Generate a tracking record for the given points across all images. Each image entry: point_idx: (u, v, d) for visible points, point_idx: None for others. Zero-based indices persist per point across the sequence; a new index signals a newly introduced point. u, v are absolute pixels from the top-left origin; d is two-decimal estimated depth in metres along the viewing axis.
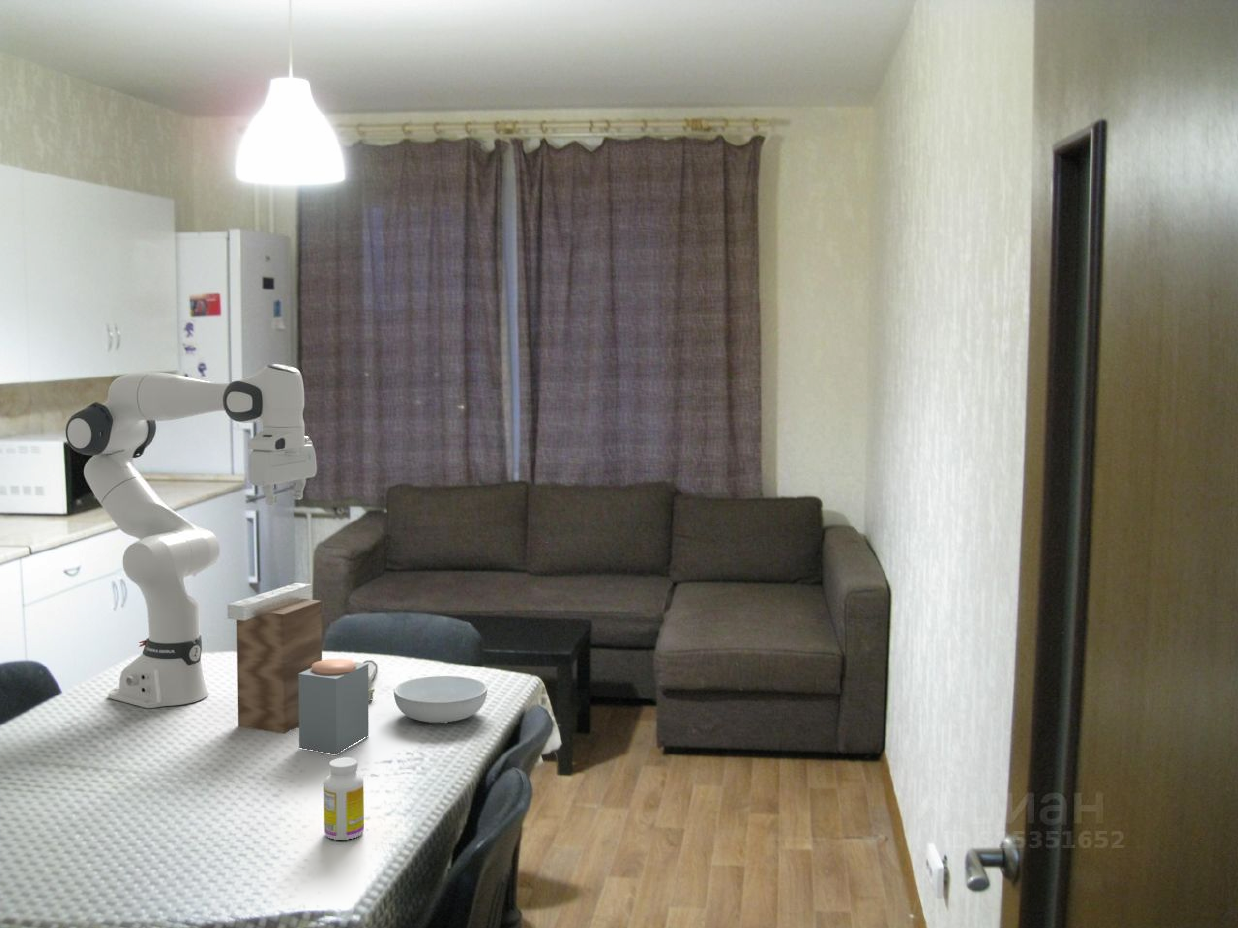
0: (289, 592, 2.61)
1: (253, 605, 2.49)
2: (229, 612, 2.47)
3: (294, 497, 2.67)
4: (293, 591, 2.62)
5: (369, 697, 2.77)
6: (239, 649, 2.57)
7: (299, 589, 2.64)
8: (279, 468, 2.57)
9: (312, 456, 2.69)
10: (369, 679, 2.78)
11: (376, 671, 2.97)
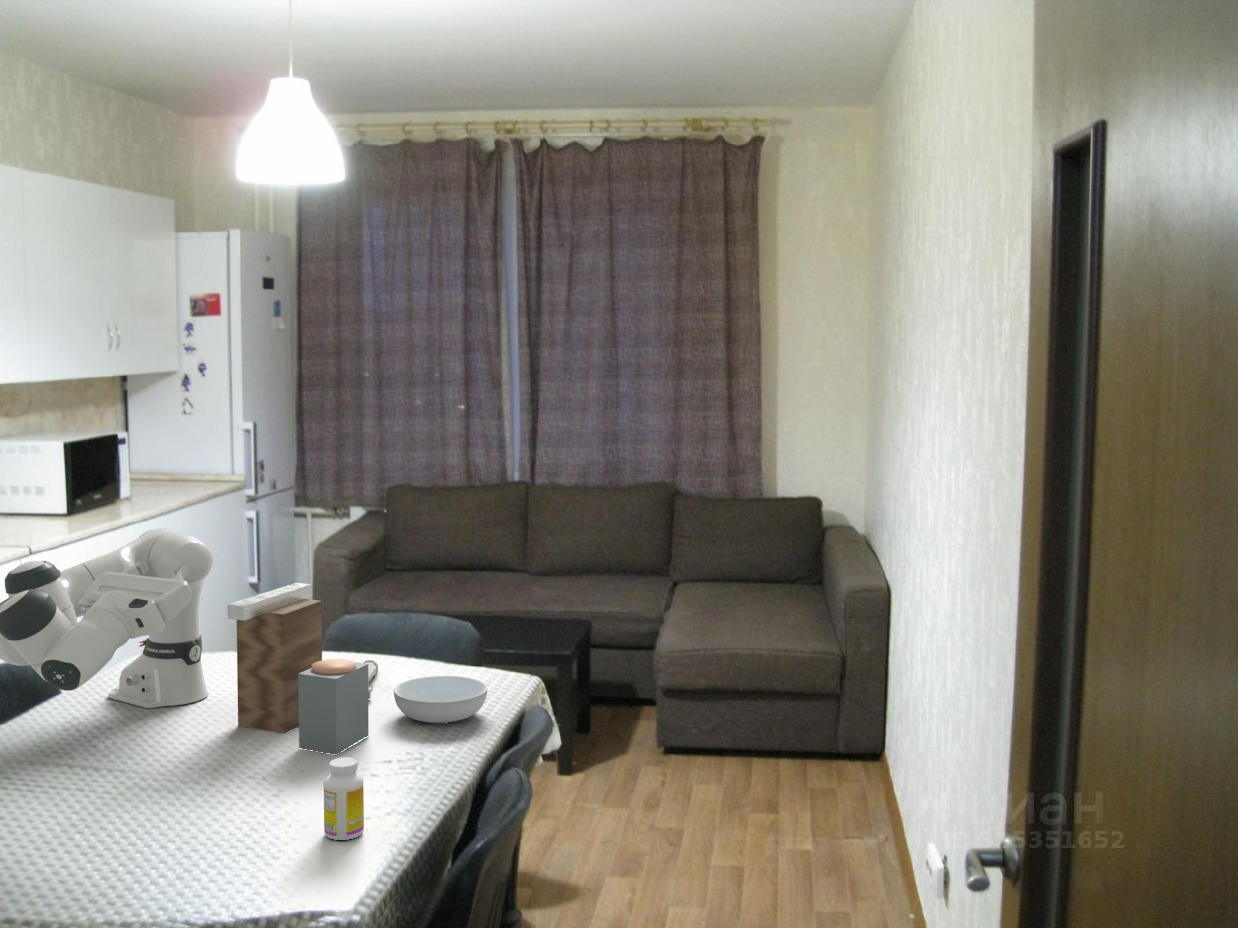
0: (289, 592, 2.61)
1: (253, 605, 2.49)
2: (229, 612, 2.47)
3: (146, 567, 2.28)
4: (293, 591, 2.62)
5: None
6: (239, 649, 2.57)
7: (299, 589, 2.64)
8: (152, 589, 2.18)
9: (95, 587, 2.21)
10: None
11: (376, 671, 2.97)
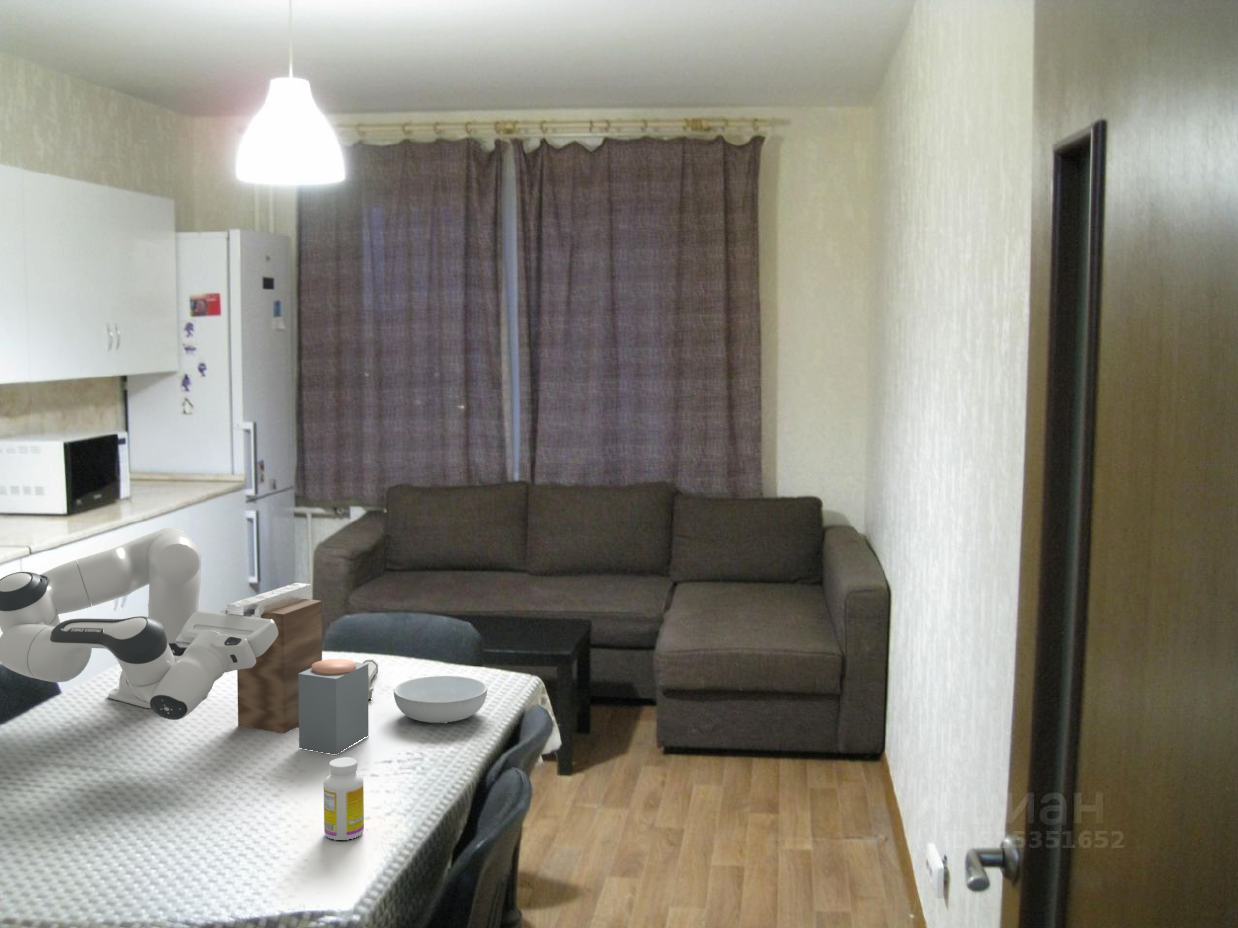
0: (289, 592, 2.61)
1: (253, 605, 2.49)
2: (229, 612, 2.47)
3: None
4: (293, 591, 2.62)
5: (368, 696, 2.78)
6: None
7: (299, 589, 2.64)
8: (243, 627, 2.43)
9: (189, 625, 2.46)
10: (368, 678, 2.79)
11: (376, 670, 2.98)
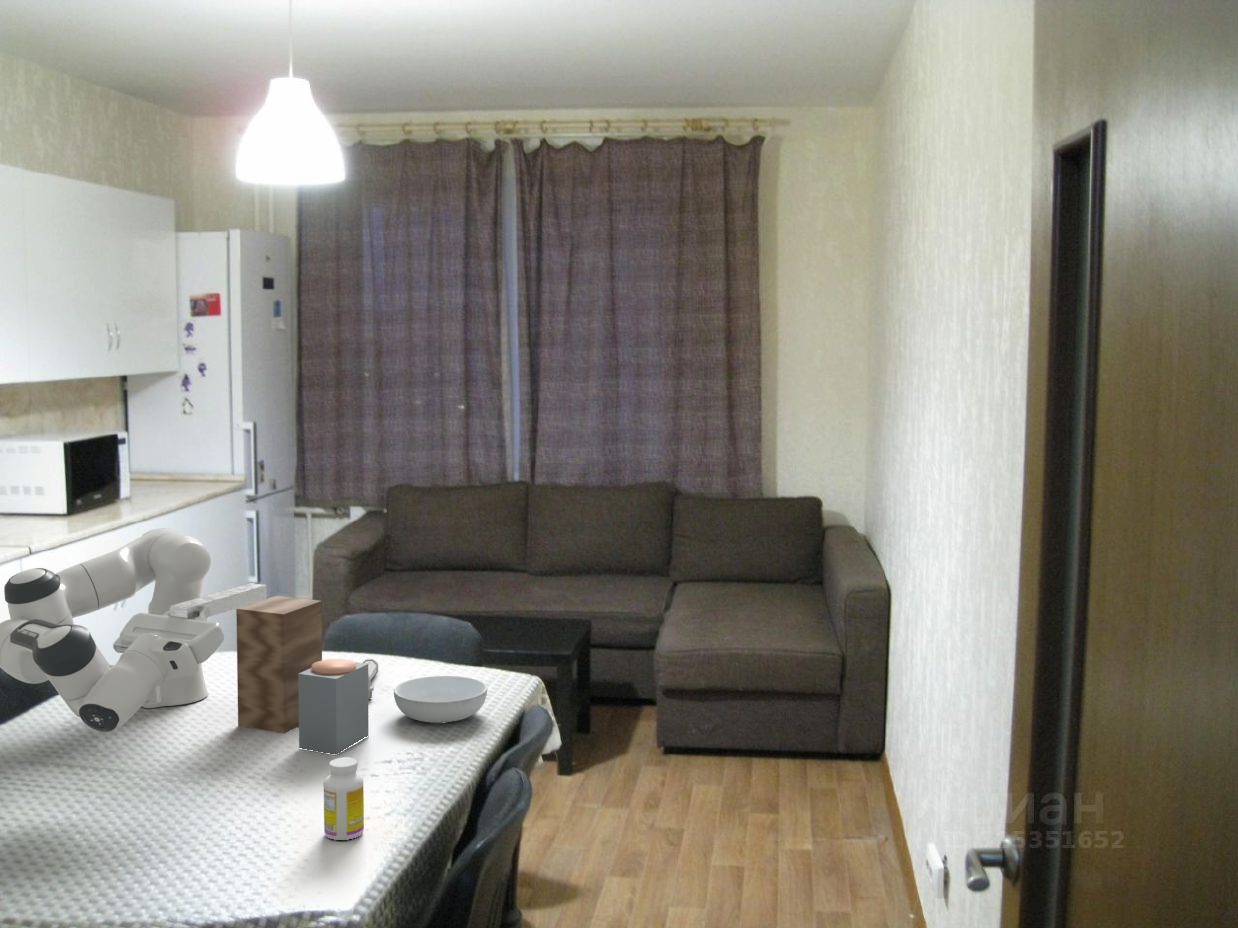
0: (240, 593, 2.42)
1: (198, 607, 2.30)
2: (172, 614, 2.29)
3: None
4: (245, 592, 2.43)
5: (368, 696, 2.78)
6: (239, 649, 2.57)
7: (252, 590, 2.45)
8: (185, 630, 2.24)
9: (129, 628, 2.27)
10: (368, 678, 2.79)
11: (377, 670, 2.98)
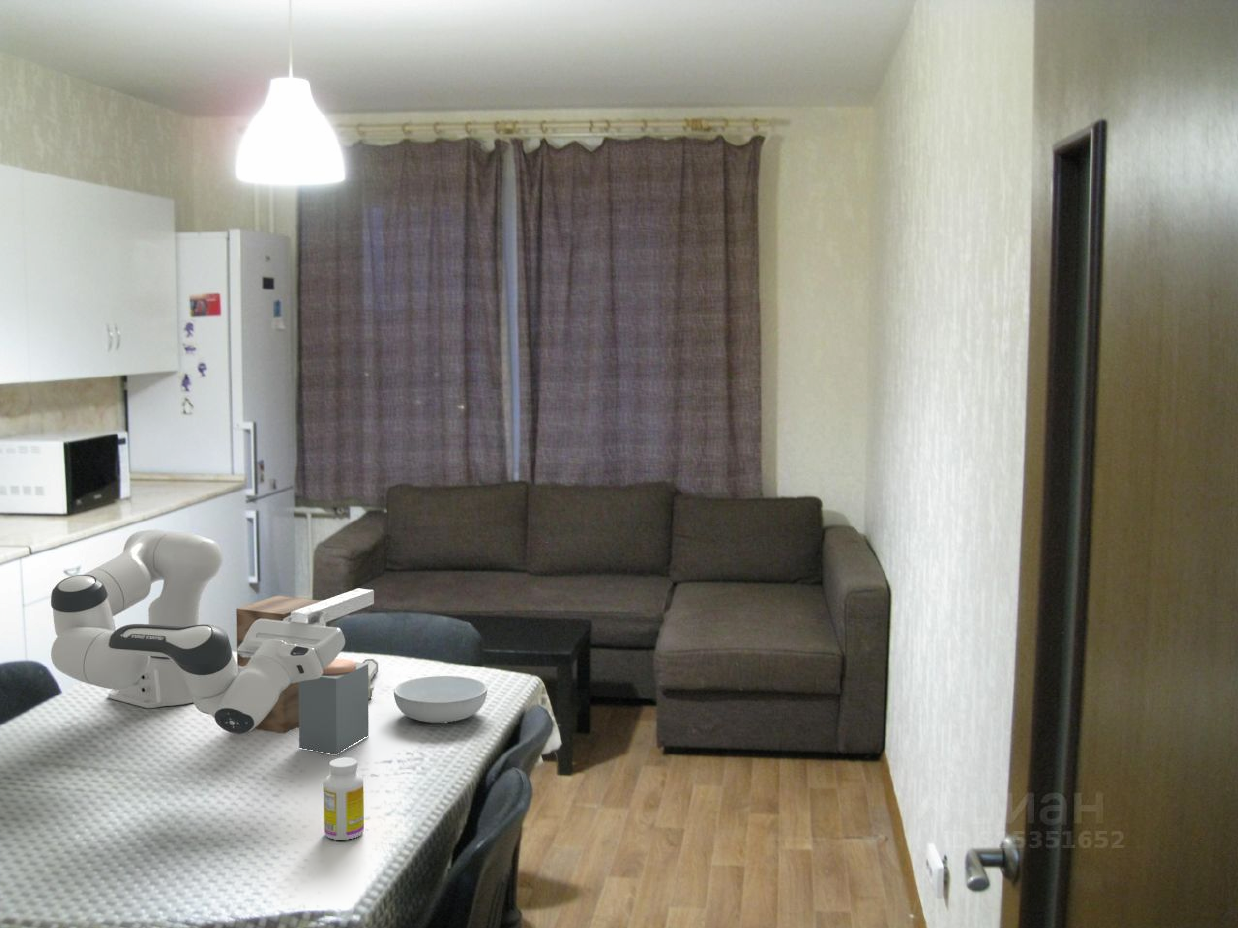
0: (352, 599, 2.49)
1: (317, 613, 2.37)
2: (293, 620, 2.36)
3: None
4: (356, 597, 2.51)
5: (368, 695, 2.79)
6: None
7: (362, 595, 2.53)
8: (308, 636, 2.31)
9: (252, 634, 2.34)
10: (368, 677, 2.80)
11: (377, 670, 2.99)
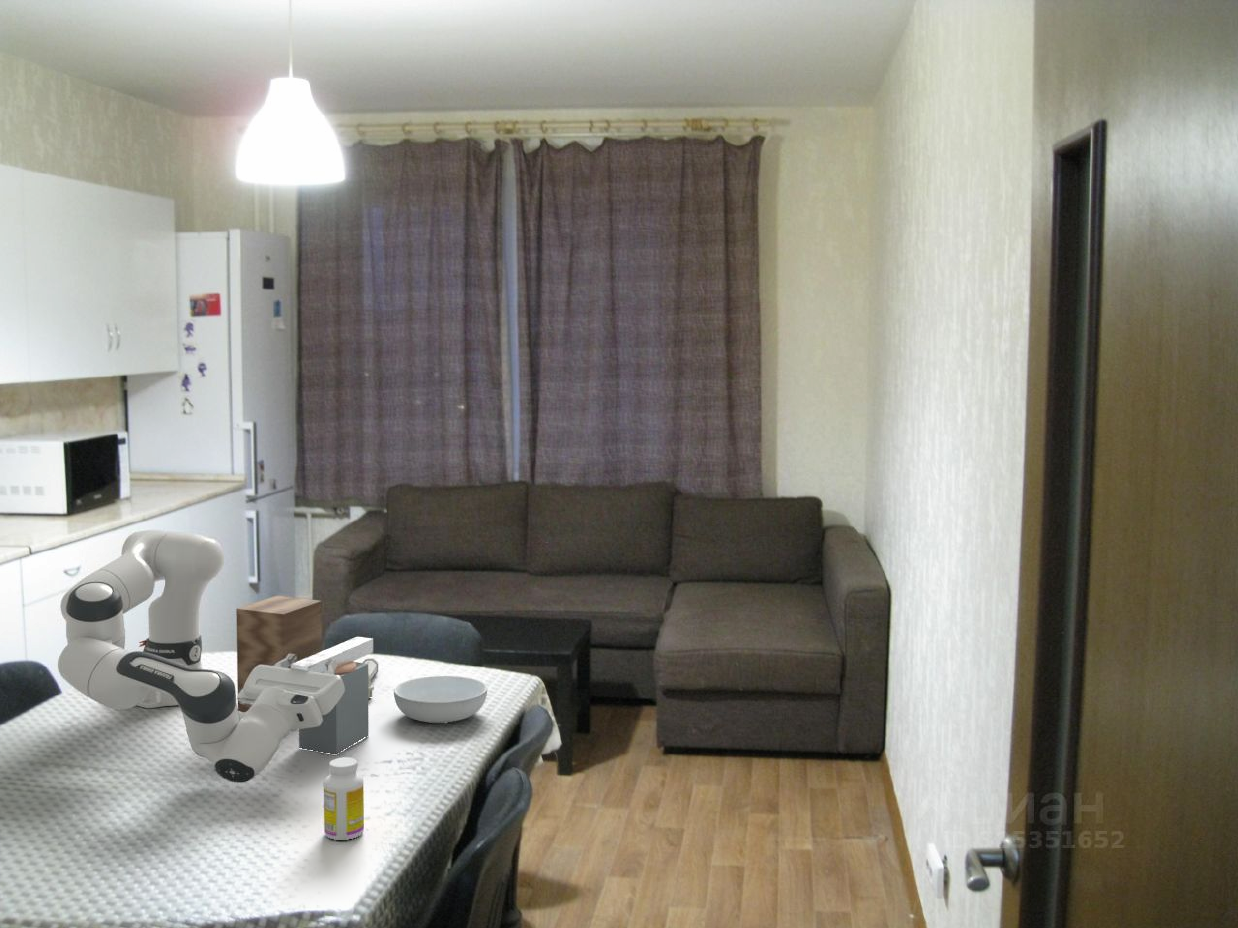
0: (351, 648, 2.50)
1: (317, 665, 2.39)
2: None
3: (296, 658, 2.42)
4: (355, 647, 2.52)
5: (368, 695, 2.79)
6: (239, 649, 2.57)
7: (361, 645, 2.54)
8: (308, 683, 2.33)
9: (252, 680, 2.36)
10: (368, 677, 2.80)
11: (377, 669, 2.99)
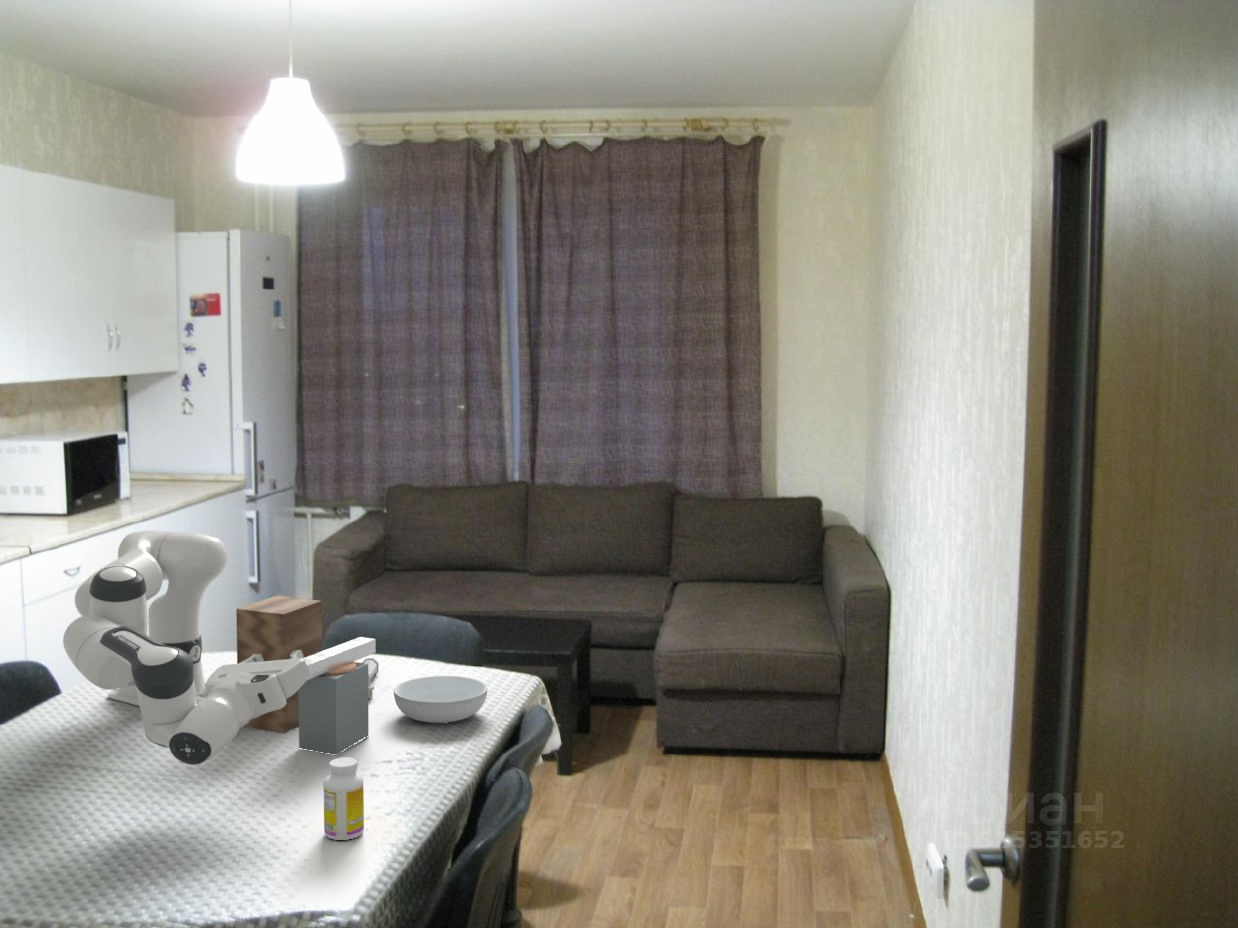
0: (352, 649, 2.50)
1: (314, 665, 2.39)
2: None
3: (261, 658, 2.32)
4: (356, 647, 2.52)
5: (368, 695, 2.79)
6: (239, 649, 2.57)
7: (362, 645, 2.54)
8: (271, 668, 2.22)
9: (214, 677, 2.25)
10: (368, 677, 2.80)
11: (377, 669, 2.99)
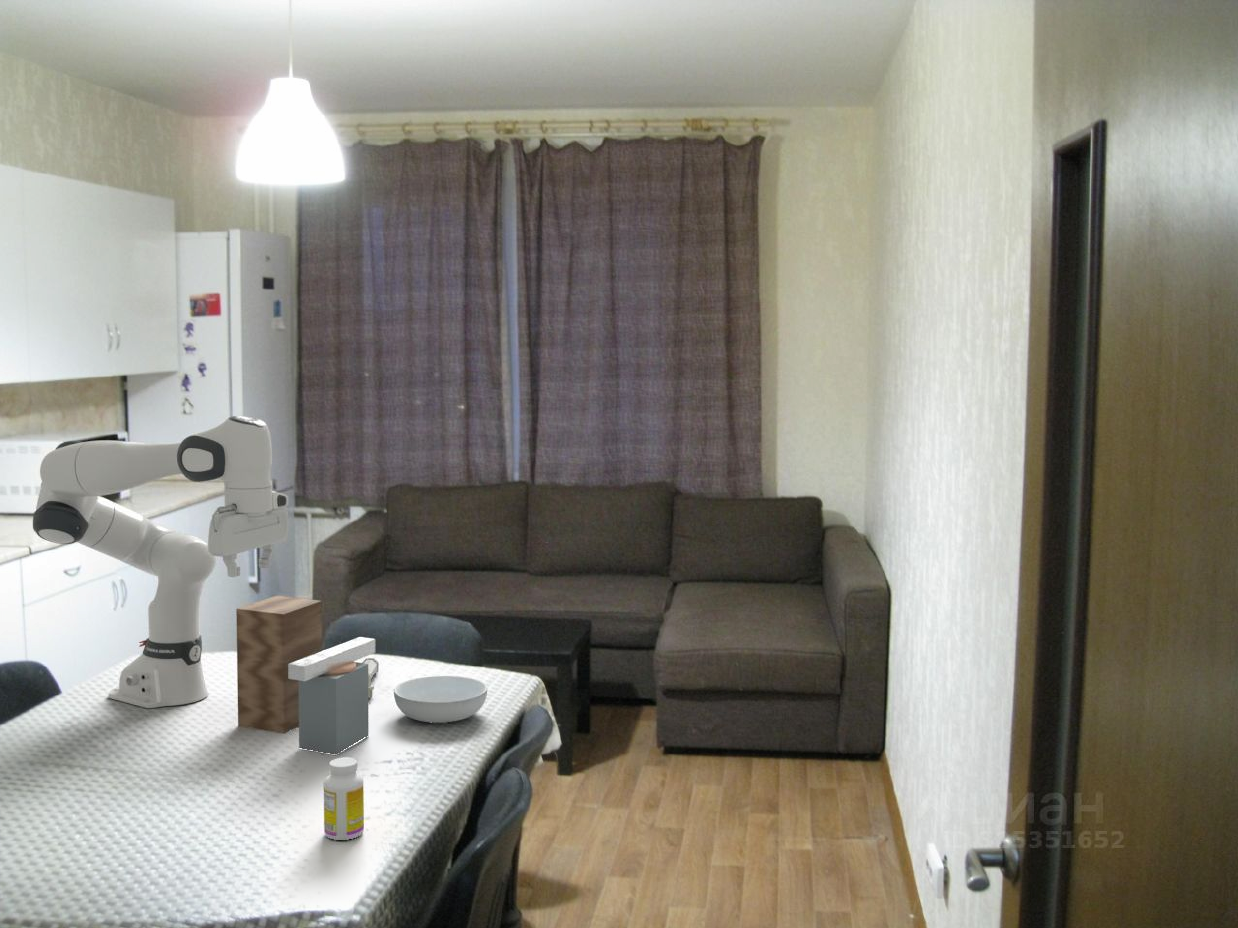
0: (352, 649, 2.50)
1: (314, 665, 2.39)
2: (290, 672, 2.37)
3: None
4: (356, 647, 2.52)
5: (368, 694, 2.79)
6: (239, 649, 2.57)
7: (362, 645, 2.54)
8: None
9: None
10: (368, 676, 2.80)
11: (377, 669, 2.99)
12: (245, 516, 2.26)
